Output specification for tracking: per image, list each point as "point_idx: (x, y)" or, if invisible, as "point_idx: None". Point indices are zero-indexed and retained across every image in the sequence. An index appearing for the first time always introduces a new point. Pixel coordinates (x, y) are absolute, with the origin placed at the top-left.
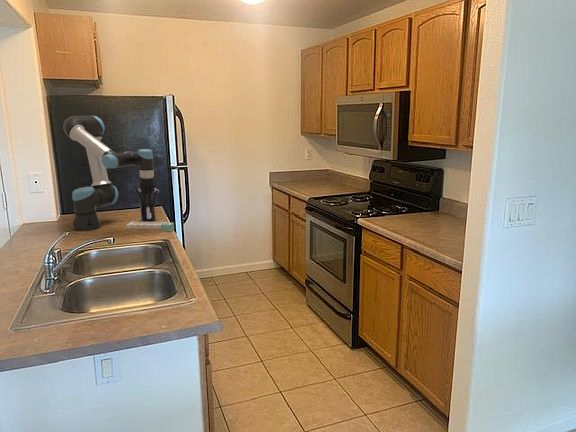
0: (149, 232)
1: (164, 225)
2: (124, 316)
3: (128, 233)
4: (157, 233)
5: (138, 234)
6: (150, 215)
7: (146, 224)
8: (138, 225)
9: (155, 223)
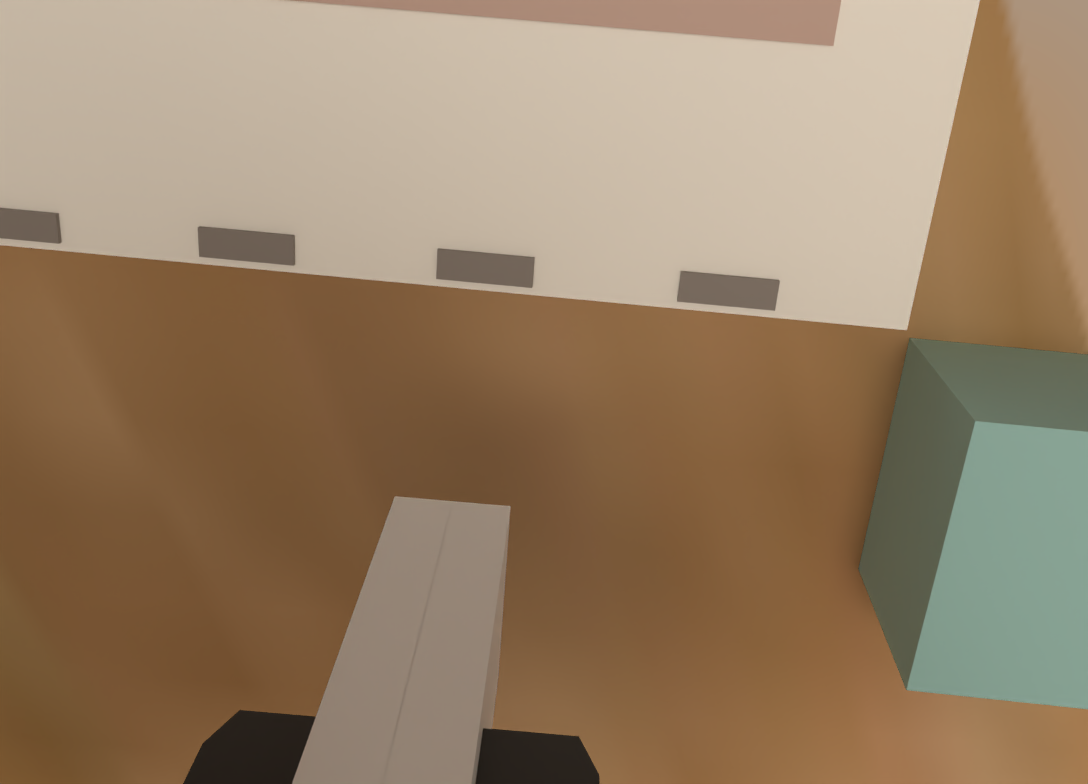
0: (561, 633)
1: (1030, 692)
2: None
3: (67, 672)
4: (793, 731)
5: None
6: (493, 669)
7: (272, 162)
8: (44, 246)
9: (561, 26)
